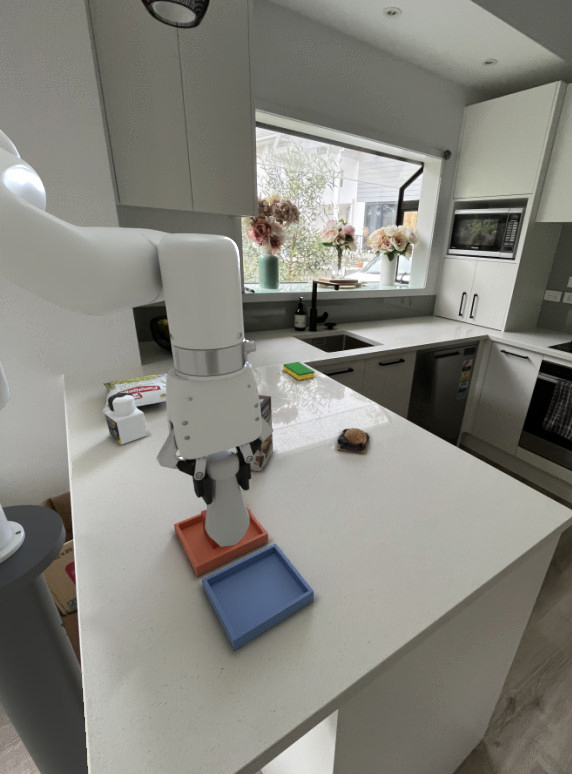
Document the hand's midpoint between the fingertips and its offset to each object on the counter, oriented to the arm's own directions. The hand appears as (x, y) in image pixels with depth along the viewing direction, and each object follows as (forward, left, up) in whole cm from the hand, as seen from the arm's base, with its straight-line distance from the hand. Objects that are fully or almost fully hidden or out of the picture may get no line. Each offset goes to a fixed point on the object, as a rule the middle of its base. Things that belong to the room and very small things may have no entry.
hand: (224, 490), depth 49 cm
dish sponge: (+63, +82, -22) cm, 106 cm away
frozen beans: (+6, +89, -22) cm, 92 cm away
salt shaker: (0, 0, -8) cm, 8 cm away
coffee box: (+21, +35, -22) cm, 46 cm away
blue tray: (+4, 0, -22) cm, 22 cm away
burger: (+47, +28, -22) cm, 59 cm away
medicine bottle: (-2, +65, -22) cm, 69 cm away
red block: (+4, +15, -21) cm, 26 cm away
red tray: (+4, +15, -22) cm, 27 cm away
